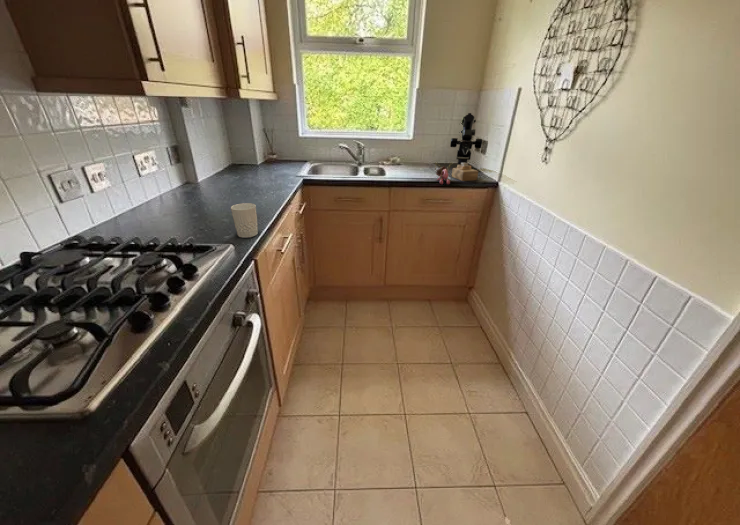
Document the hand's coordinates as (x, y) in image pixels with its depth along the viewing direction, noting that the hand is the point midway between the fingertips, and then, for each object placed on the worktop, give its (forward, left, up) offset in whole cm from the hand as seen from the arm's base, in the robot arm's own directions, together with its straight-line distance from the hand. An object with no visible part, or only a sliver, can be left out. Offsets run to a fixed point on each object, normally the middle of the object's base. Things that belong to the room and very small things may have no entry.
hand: (465, 154), depth 201 cm
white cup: (+66, -127, -12) cm, 144 cm away
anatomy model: (+14, -21, -12) cm, 29 cm away
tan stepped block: (+9, -4, -12) cm, 16 cm away
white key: (+6, -3, -6) cm, 9 cm away
